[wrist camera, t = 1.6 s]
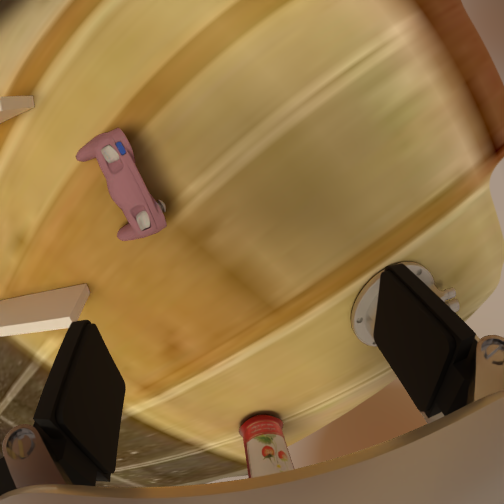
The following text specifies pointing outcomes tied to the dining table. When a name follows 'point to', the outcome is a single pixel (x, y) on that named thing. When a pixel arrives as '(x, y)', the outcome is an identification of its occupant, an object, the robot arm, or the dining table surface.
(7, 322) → the bin
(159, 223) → the video game controller
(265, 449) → the red glass bottle
